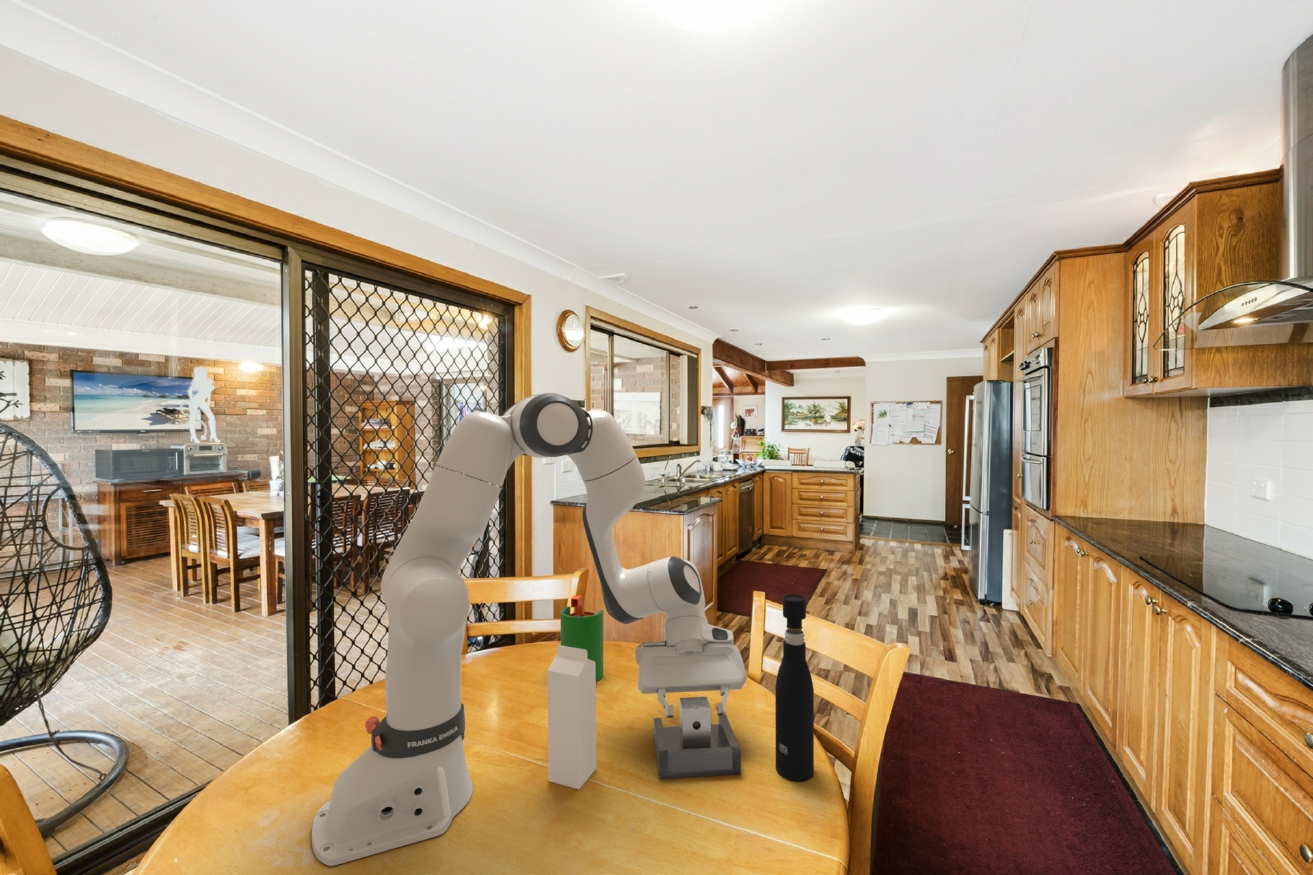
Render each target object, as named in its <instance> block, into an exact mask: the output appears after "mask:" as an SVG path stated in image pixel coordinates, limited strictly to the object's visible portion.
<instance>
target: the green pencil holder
mask: <svg viewBox="0 0 1313 875" xmlns="http://www.w3.org/2000/svg"><path fill="white" fill-rule="evenodd" d="M571 608H574V609H575V610H574V612H572V613H571ZM560 645H561V646H567V647H573V648H579V649H585V650H587V659H589V660H592V661H595V666H596V683H597V682H599V681H600V680H602V678H604V610H603V609H602V610H599V611H597V613H595V612H591V611H585V602H584V596H583V595H577V594H576V595H573V596H572V597H571V598H570V606H566V607H563V608H562V609H561V610H560Z"/></svg>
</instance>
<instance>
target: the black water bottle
mask: <svg viewBox="0 0 1313 875" xmlns="http://www.w3.org/2000/svg"><path fill="white" fill-rule="evenodd" d="M782 617H783V618H785V619H786V629H785V632H784V640H783V642H782V653H783V654H782V655H783V656H782V659H781V663H780V665H779V668H778V671H777V675H776V680H775V689H774V691H775V693H774V694H775V696H774V697H775V701H774V702H775V705H774V706H775V770H776V772H777V774H778V775H780V776H781V777H782V778H784V779H786V780H788V781H791V782H797V781H799V783H800V781H801V782H806V781H809V780H810V779H812V777H813V776H814V773H815V767H814V766H815V764H814V763H815V761H814V760H815V758H814V757H815V753H814V752H815V750H814V748H815V747H814V746H815V744H814V743H815V738H814V737H815V731H814V730H815V725H814V724H815V718H814V717H815V716H814V715H815V714H814V712H815V706H814V704H815V702H814V701H815V700H814V699H815V692H814V689H815V688H814V683H813V679H812V678H813V677H812V673H811V671H810V669H809V664H808V662H807V659H806V658H807V657H806V656H807V655H806V650H807V649H806V648H807V647H806V646H807V645H806V644H807V643H806V642H805V638H804V637H805V634H804V631H803V630H802V629H803V620H805V619H806V618H807V598H806V597H804V596H802V595H799V594H786V595H784V596H782Z"/></svg>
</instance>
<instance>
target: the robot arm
mask: <svg viewBox="0 0 1313 875" xmlns="http://www.w3.org/2000/svg"><path fill="white" fill-rule="evenodd" d="M519 456H529V457H533V458H539V459H541V458H542V459H544V458H557V457H558V458H559V457H563V456H567V457H569V459H571V461H572V462H573V463H574V465H576V468H577V471H578V473H579V475H580V477H581V480H582V482H583V484H584V487H585V490H586V495H587V496H586V503H585V504H584V505H583V506H582V507H583V508H582V515H581V516H582V522H583V528H584V531H585V535H586V538H587V543H588V545H589V549H590V552H591V556H592V559H593V562H594V566H595V568H596V569H595V570H596V572H597V576H598V580H599V582H600V583H599V584H600V588H601V593H602V598H603V604H604V607H605V611H606V612H607V613H608V615H610V617H612V618H613V619H615V620H616V621H617V622H619V623H621V624H624V625H629V624H632V623H634V622H637V621H639V620H642V619H644V618H647V617H649V616H653V615H656V614H659V613H663V612H664V615H665V616H664V618H665V620H664V625H663V627H664V640H657V641H643V642H642V643H641V644H638V646H636V648H635V650H634V651H635V652H634V653H635V654H634V655H635V658H634V660H635V662H636V664H637V665H638V676H637V688H638V690H639V692H640V693H641V694H642V695H647V694H649V695H650V694H656V696H657V700H658V702H659V703H660V705H661V706H662V708H663V709H664V710H663V711H664V718H665V719H673V718H674V716H675V714H674V705H673V704H669V703H668V702H667V700H666V696H667V693H670V694H671V693H690V692H710V691H711V692H713V691H719V695H720V696H721V697H722V699H721V702H716V705H715V710H716V716H722V715H726V716H727V709H726V702H727V700H728V696H729V695H730V691H735V690H736V691H737V690H742V689H743V688H744V686H745V684H746V682H747V672H746V669H745V668H746V667H745V664H744V659H743V657H742V655H741V654H742V653H741V652H740V649H739V648H738V647H737V646H736V644H734V639H735V638H734V637H735V636H734V633H733V631H731V630H729V629H727V628H723V627H718V626H715V625H712V624H709V621H708V619H707V616H706V613H705V612H706V610H705V608H706V598H705V593H704V587H703V584H702V580H701V575H700V572H699V570H698V568H697V566H696V565H695V564H694V563H693V562H692V561H689V560H687V559H682V558H680V557H677V556H675V555H673V556H668V557H663V558H661V559H657V560H655V561H651V562H649V563H646V564H643V565H640V566H637V567H633V568H625V567H623V566H622V564H621V560H620V556H619V554H618V551H617V547H616V543H615V541H614V540H615V539H614V536H613V527H614V525H615V524H616V523H617V522H618V521H620V520H621V519H622V518H623V517H624V516H625V515H627V514H628V513H629V512H630V511H631V510H632V509H633V508H634V506H636V504H637V503H638V502H639V500H640V498H641V497H642V495H643V493H644V490H645V486H646V477H645V474H644V470H643V467H642V464H641V462H640V460H639V457H638V456H637V454H636V451H635V449H634V447H633V446H632V444H631V442H630V439H629V438H628V436H627V434H626V433H625V432H624V430H623V428H622V427H621V425H620V424H619V423H618V421H617V420H616V418H615V417H614V416H613V415H612V414H611V413H610V412H608V411H606V410H602V409H593V410H588V411H586V410H585V409H584V408H582V407H580V406H579V405H578V404H577V403H575V402H574V401H573V400H572V399H570V398H569V397H567V396H565V395H562V394H559V393H557V392H556V393H554V392H546V393H541V394H538V393H537V394H533V395H529V396H527V397H525V398H523V399H521V400H519V401H517V402H515V403H514V404H512V405H510V406H509V407H508V408H507V409H506V410H504V411H502V413H501V414H500V415H497V414H495V413H492V412H488V411H473V412H469V413H467V414H465V415H464V416H463V417H462V418H461V419H460V420H459V422H458V423H457V424H456V426H455V427H454V429H453V431H452V432H451V434H450V436H449V437H448V439H447V441H446V443H445V445H444V446H443V448H442V450H441V452H440V455H439V457H438V459H437V461H436V464H435V466H434V468H433V471H432V473H431V476H430V479H429V481H428V483H427V485H426V487H425V490H424V493H423V495H422V497H421V500H420V502H419V505H418V507H417V509H416V511H415V513H414V515H413V517H412V519H411V521H410V522H409V524H408V526H407V528H406V529H405V531H404V533H403V534H402V536H401V538H400V540H399V541H398V542H399V543H398V544H397V546H396V548H395V550H394V552H393V553H392V556H391V558H390V560H389V562H388V564H387V566H386V568H385V570H384V572H383V575H382V577H381V582H380V592H381V595H382V598H383V600H384V603H385V604H384V605H385V607H386V612H387V617H388V636H387V655H386V666H385V670H384V671H385V716H384V718H382V719H381V720H380V719H379V718H378V716H370V717H368V718H367V719H366V721H365V724H364V726H365V729H366V730H365V731H366V732H367V734H369V735H370V736H371V737H370V738H371V740H370V741H371V745H370V746H369V747H368V748H367V749H365V751H364V752H362V754H360V755H359V756H358V757H357V758H356V759H354V761H352V762H350V763H351V764H349V765H348V766H347V767H346V768H344V769H343V770H342V771H341V772H340V773H339V775H338V776H337V778H336V780H335V782H334V785H333V788H332V791H331V794H330V795H331V796H330V800H329V801H327V802H325V803H323V805H322V806H321V807H320V808H319V809H318V811H317V812H316V814H315V816H314V819H313V821H312V825H311V826H312V827H311V835H310V836H311V846H312V851H313V854H314V855H315V857H316V859H318V861H319V862H321V863H322V864H324V865H327V866H328V867H329V866H330V867H332V866H333V867H334V866H337V865H340V864H344V863H348V862H352V861H355V860H357V859H361V858H365V857H368V856H369V857H370V856H372V855H375V854H380V853H384V852H387V851H389V850H390V851H391V850H394V849H396V848H400V847H403V846H406V845H407V846H408V845H411V844H414V843H417V842H421V841H424V840H428V839H432V838H435V837H438V836H441V835H443V834H444V833H446V831H447V830H448V829H449V827H450V825H451V823H452V821H453V819H454V818H455V817H456V816H457V814H459V813H460V811H462V810H463V809H464V807H466V805H467V804H468V803H469V801H470V799H471V797H472V795H473V792H474V791H473V789H474V785H473V782H472V780H471V779H472V778H471V776H470V774H469V773H470V772H469V770H468V766H467V761H466V754H465V748H464V739H465V732H466V713H465V712H466V711H465V705H464V704H463V703H462V655H463V653H462V652H463V647H464V646H463V645H464V640H465V633H466V624H467V618H468V616H469V612H470V595H469V591H468V586H467V584H466V582H465V580H464V578H463V577H462V576H461V575H460V570H461V568H462V565H463V563H464V562H465V560H466V558H467V556H468V555H469V553H470V551H471V550H472V548H473V546H475V544H476V542H477V541H478V539H479V538H480V537H482V535H483V534H484V533H485V531H486V529H487V527H488V523H489V521H490V518H491V515H492V513H493V511H494V508H495V505H496V502H497V500H498V498H499V495H500V492H501V490H502V487H503V484H504V481H505V479H506V476H507V471H508V470H509V469H510V467H511V466H512V464H513V462H514V461H515V460H516V459H517V458H518V457H519Z"/></svg>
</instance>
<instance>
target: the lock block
mask: <svg viewBox="0 0 1313 875" xmlns="http://www.w3.org/2000/svg"><path fill="white" fill-rule="evenodd" d="M711 709H712V708H711V706H710V702H709V699H708V696H693V697H692V696H691V697H690V696H689V697H687V696H686V697H679V726H680V750H681V749H699V748H711V725H712V724H711V721H712V720H711V719H712V718H711V714H712V713H711V712H712V710H711Z"/></svg>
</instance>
